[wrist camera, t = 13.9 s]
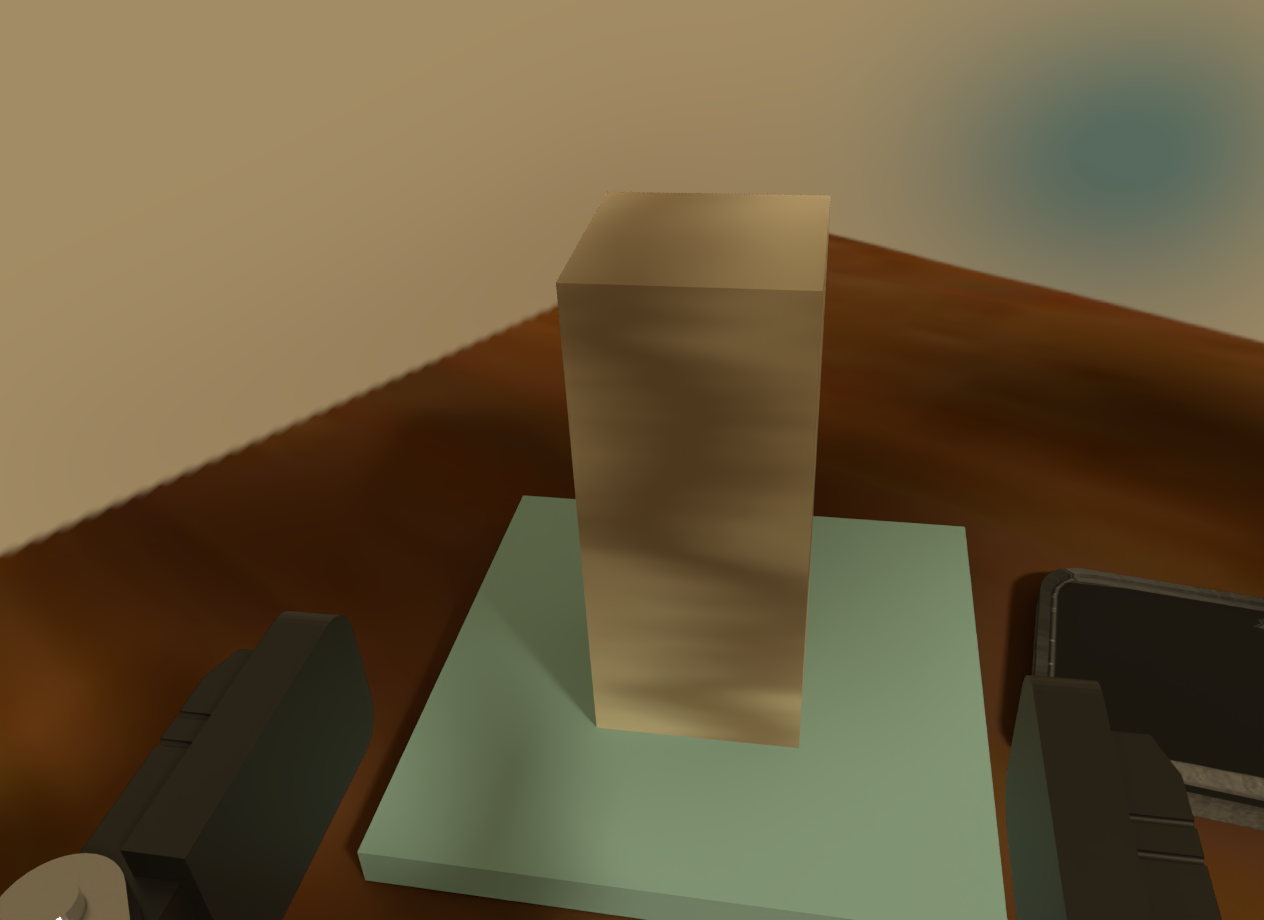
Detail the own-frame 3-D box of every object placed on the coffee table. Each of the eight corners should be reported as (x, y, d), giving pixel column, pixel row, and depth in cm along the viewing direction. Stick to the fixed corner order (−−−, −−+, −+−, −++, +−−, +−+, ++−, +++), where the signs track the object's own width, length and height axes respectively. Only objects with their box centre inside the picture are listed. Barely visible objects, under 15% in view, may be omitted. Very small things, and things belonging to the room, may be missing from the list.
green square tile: (961, 552, 34) (964, 527, 34) (1002, 969, 23) (1009, 940, 22) (526, 519, 37) (523, 495, 36) (365, 879, 25) (357, 852, 25)
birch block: (808, 611, 31) (830, 195, 24) (798, 748, 27) (823, 291, 20) (631, 597, 31) (607, 192, 25) (596, 727, 27) (556, 282, 21)
